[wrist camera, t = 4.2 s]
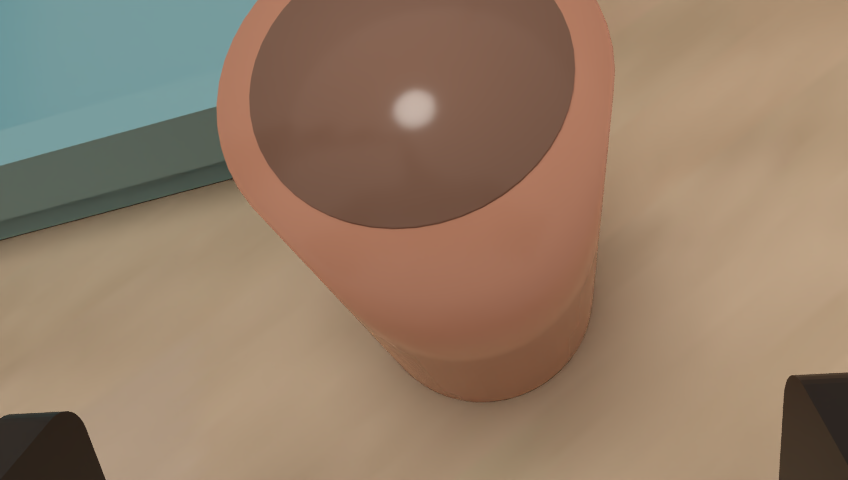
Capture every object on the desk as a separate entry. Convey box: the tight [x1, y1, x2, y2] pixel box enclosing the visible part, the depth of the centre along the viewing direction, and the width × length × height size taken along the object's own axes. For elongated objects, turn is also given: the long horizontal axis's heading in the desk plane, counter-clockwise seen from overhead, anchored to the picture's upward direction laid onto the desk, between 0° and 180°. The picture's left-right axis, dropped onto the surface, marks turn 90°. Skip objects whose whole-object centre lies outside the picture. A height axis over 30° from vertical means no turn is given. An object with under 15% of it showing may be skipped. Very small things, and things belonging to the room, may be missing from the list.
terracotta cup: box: [217, 0, 615, 402], centre depth 15 cm, size 5×5×10 cm
